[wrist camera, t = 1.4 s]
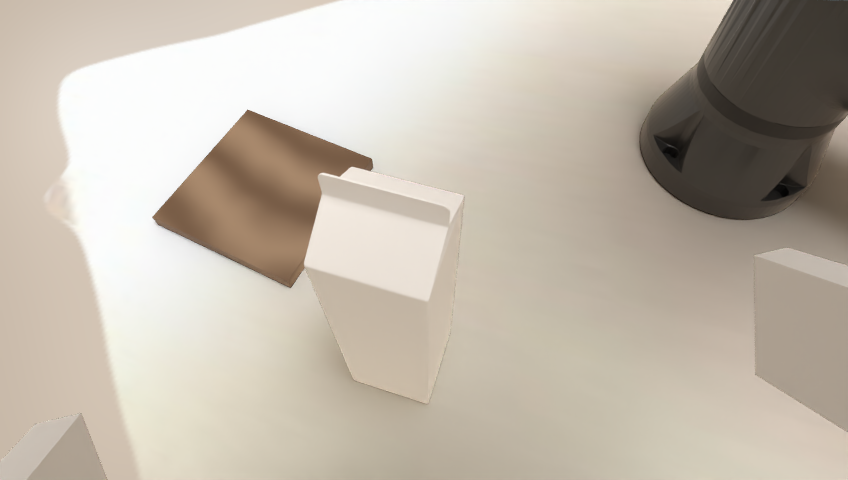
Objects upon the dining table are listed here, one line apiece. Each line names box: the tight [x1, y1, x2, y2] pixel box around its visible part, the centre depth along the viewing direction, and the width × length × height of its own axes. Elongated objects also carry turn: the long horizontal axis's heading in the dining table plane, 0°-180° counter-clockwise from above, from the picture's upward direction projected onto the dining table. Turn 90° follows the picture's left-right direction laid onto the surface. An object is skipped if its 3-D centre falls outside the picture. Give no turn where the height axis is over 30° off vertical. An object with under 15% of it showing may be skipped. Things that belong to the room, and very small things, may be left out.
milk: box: [304, 167, 464, 404], centre depth 32 cm, size 6×6×22 cm
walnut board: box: [152, 110, 373, 288], centre depth 48 cm, size 14×14×1 cm
